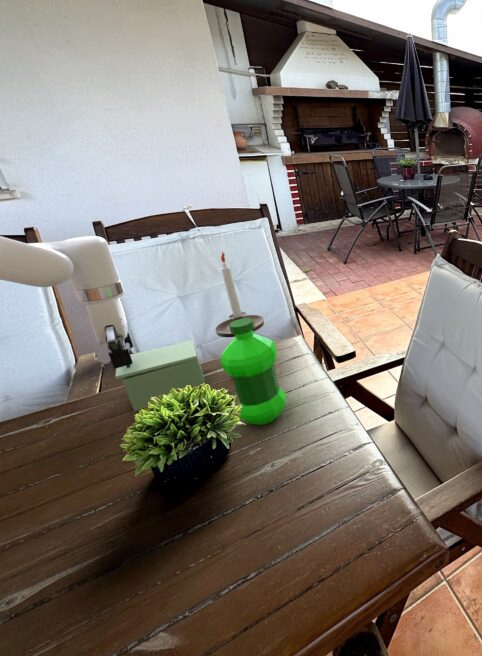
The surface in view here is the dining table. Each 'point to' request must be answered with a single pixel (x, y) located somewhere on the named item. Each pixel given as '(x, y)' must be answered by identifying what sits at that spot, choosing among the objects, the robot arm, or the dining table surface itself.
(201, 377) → the chest
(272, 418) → the plastic bottle
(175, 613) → the dining table surface
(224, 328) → the candlestick
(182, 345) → the lid
